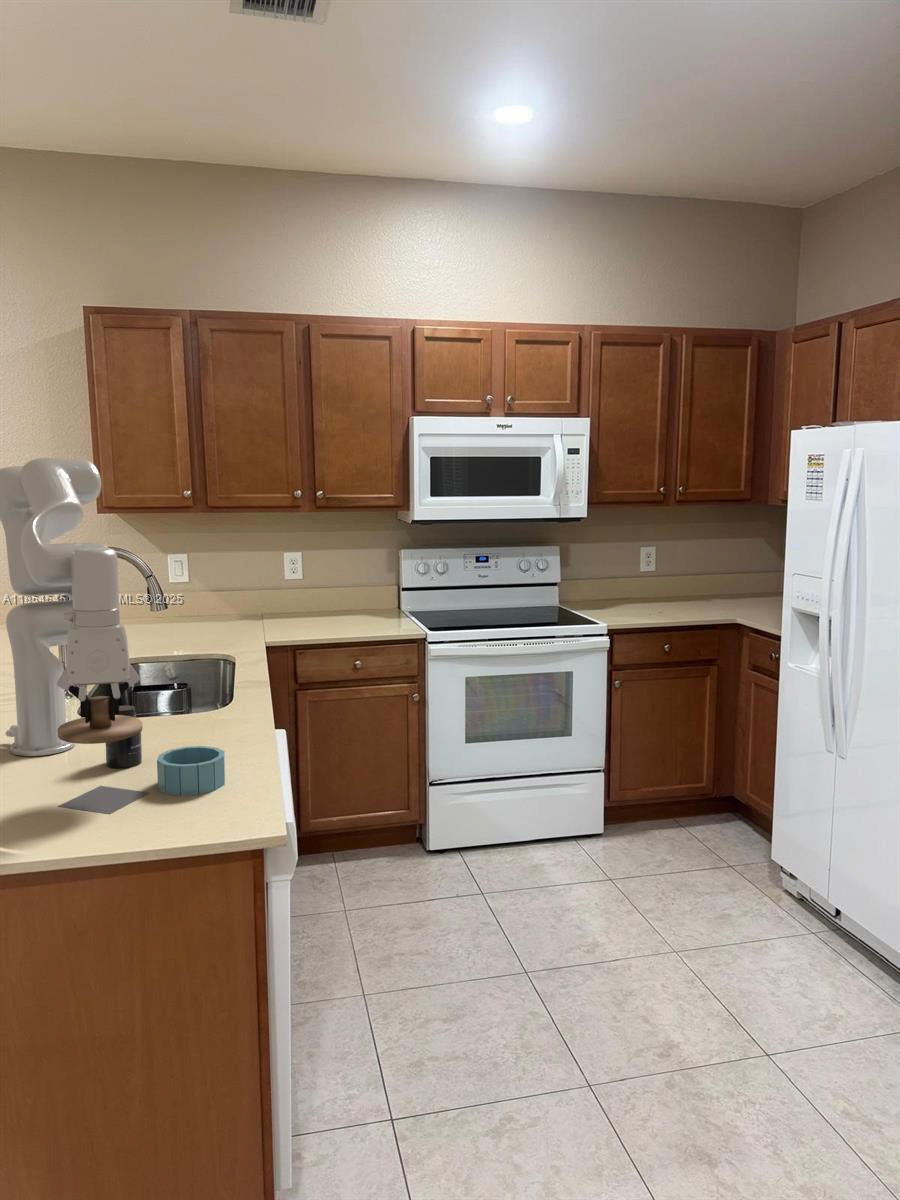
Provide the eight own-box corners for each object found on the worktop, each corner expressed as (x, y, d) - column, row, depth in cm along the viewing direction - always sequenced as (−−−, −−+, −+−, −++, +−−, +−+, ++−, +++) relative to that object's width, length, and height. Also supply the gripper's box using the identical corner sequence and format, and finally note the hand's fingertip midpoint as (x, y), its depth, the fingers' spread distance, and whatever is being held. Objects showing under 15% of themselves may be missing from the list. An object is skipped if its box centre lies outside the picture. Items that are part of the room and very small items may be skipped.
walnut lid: (39, 738, 148) (37, 704, 147) (95, 716, 161) (94, 685, 161) (106, 747, 144) (105, 713, 143) (158, 725, 157) (157, 693, 156)
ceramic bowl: (145, 793, 159) (143, 761, 158) (183, 773, 170) (182, 743, 169) (201, 800, 155) (200, 768, 154) (237, 779, 166) (236, 749, 166)
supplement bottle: (141, 769, 172) (139, 711, 170) (104, 772, 170) (102, 713, 168) (143, 759, 178) (141, 702, 177) (108, 761, 176) (105, 704, 175)
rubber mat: (57, 809, 150) (57, 806, 150) (100, 788, 161) (100, 785, 161) (109, 816, 147) (109, 813, 147) (150, 795, 158) (150, 792, 158)
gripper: (43, 624, 143) (48, 730, 146) (148, 619, 150) (150, 721, 152) (45, 616, 150) (50, 718, 153) (145, 613, 156) (148, 710, 159)
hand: (100, 718), depth 152 cm, fingers closed on walnut lid, 3 cm apart
